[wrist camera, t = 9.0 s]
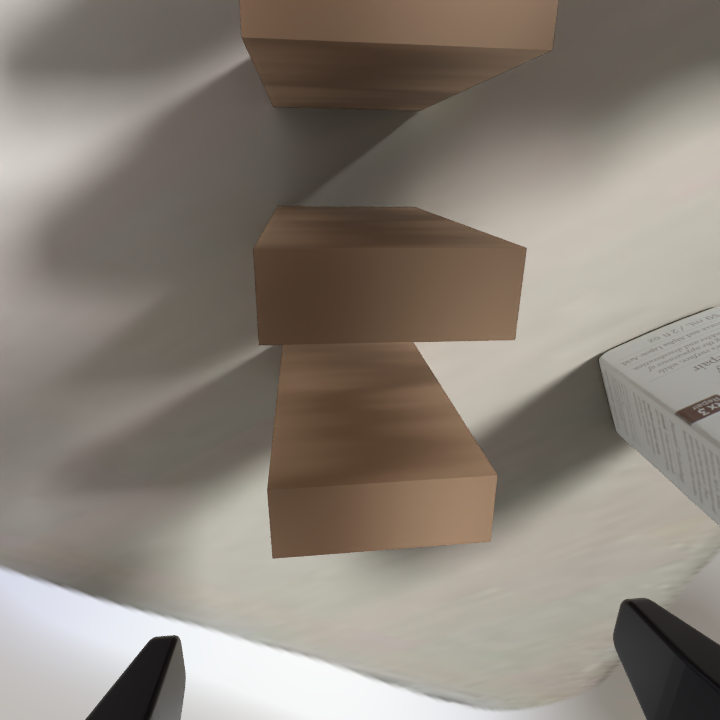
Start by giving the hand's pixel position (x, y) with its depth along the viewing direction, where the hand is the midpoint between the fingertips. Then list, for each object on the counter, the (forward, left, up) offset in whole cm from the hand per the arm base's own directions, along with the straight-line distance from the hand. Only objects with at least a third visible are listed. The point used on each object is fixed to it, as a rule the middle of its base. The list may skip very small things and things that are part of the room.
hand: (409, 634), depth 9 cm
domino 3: (0, 0, -13) cm, 13 cm away
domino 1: (0, -10, -13) cm, 16 cm away
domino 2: (0, -5, -13) cm, 14 cm away
